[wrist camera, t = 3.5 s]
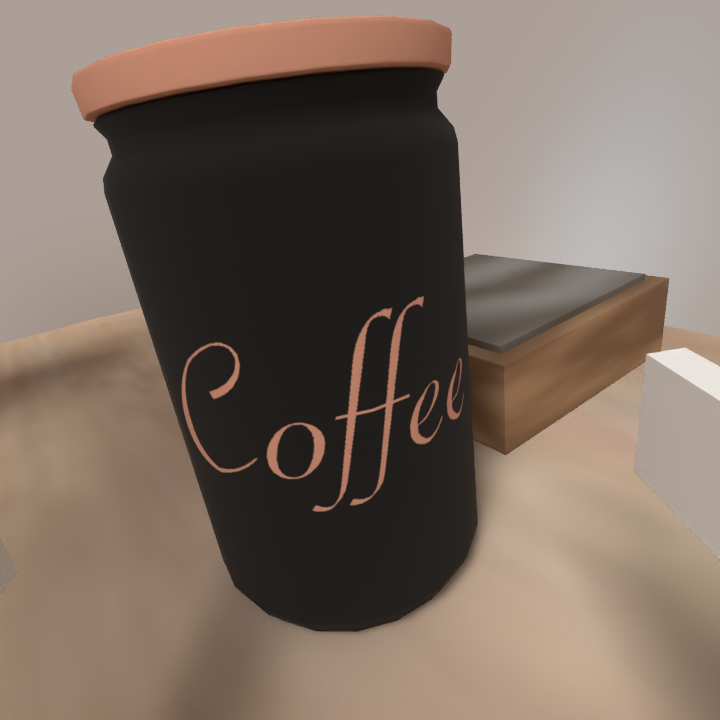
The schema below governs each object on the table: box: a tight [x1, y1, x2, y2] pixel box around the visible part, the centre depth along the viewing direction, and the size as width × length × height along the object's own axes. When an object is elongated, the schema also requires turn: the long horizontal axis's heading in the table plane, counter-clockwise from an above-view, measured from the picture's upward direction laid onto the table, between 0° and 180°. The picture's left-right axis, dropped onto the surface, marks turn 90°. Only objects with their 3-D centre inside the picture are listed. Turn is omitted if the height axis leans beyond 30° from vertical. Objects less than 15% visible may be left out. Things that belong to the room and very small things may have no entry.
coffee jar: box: [72, 15, 477, 631], centre depth 18 cm, size 11×11×18 cm
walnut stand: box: [464, 254, 669, 454], centre depth 35 cm, size 16×16×5 cm
